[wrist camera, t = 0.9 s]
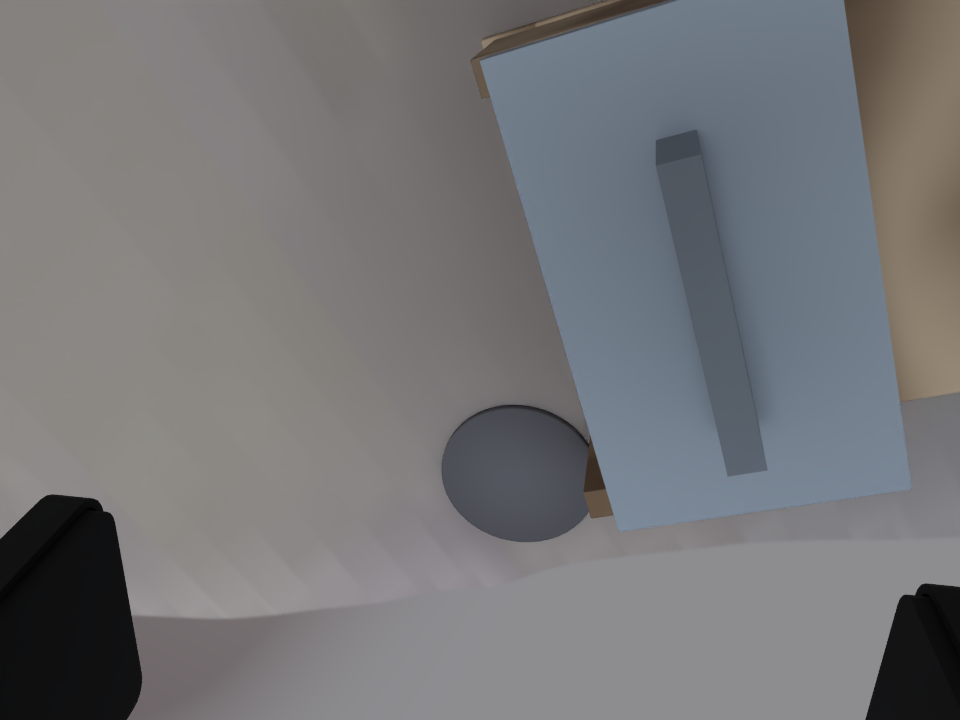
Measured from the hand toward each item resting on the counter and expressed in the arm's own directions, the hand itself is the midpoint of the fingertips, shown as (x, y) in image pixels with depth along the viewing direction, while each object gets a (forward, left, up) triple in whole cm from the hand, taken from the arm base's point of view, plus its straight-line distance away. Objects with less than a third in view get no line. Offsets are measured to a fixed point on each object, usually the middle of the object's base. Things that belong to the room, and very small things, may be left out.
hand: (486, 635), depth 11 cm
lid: (-3, +4, -20) cm, 21 cm away
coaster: (+7, +13, -26) cm, 30 cm away
